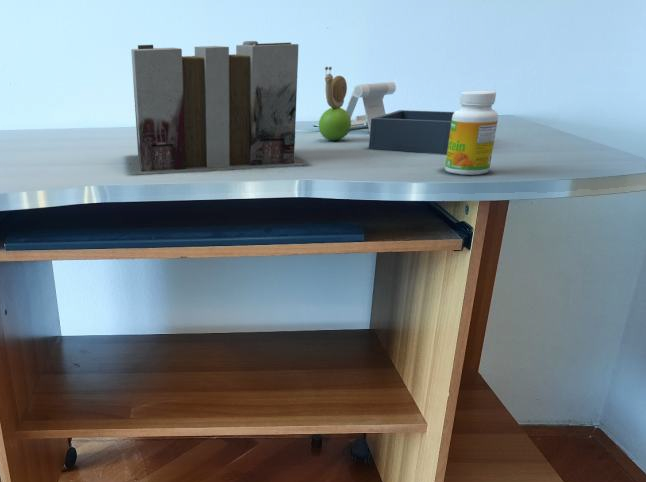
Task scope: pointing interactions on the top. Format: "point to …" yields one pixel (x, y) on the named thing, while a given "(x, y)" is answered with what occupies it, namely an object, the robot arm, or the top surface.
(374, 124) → the bin
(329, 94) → the snail figurine
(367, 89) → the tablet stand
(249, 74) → the building model
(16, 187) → the top surface
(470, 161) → the supplement bottle
